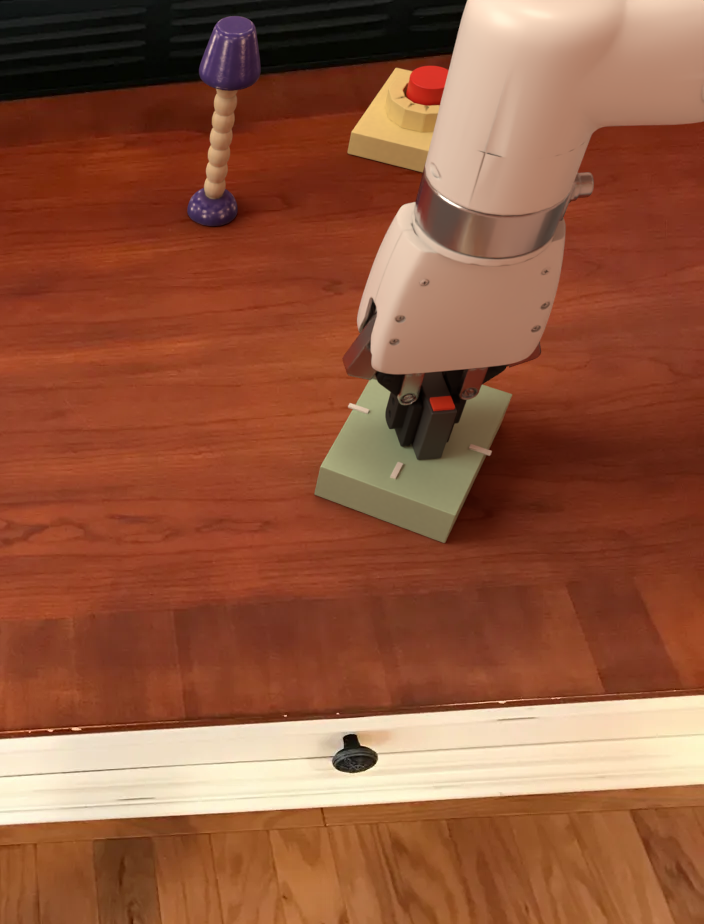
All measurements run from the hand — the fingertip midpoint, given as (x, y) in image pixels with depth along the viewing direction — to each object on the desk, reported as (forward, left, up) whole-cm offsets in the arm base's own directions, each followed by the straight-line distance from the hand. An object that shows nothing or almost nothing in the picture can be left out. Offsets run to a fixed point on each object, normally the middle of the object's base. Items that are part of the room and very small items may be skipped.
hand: (418, 428), depth 77 cm
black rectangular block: (0, 0, 0) cm, 0 cm away
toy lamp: (-5, -30, -3) cm, 31 cm away
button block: (-26, -29, -3) cm, 39 cm away
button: (-26, -29, 0) cm, 39 cm away
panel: (0, 0, -3) cm, 3 cm away
